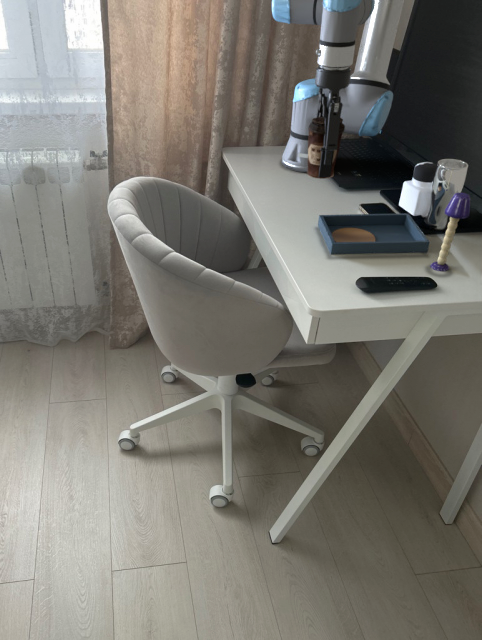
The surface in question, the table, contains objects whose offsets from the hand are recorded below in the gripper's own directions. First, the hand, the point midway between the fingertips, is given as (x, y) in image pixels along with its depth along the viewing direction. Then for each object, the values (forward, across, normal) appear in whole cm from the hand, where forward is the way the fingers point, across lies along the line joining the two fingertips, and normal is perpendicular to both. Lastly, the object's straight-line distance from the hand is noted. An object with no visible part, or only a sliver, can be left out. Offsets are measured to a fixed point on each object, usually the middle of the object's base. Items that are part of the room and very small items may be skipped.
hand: (321, 170), depth 138 cm
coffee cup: (+1, 0, 0) cm, 1 cm away
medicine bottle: (+11, +1, +26) cm, 28 cm away
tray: (+10, +17, +9) cm, 22 cm away
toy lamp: (+11, +31, +21) cm, 39 cm away
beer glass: (+11, +9, +28) cm, 31 cm away
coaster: (+9, +17, +5) cm, 20 cm away
